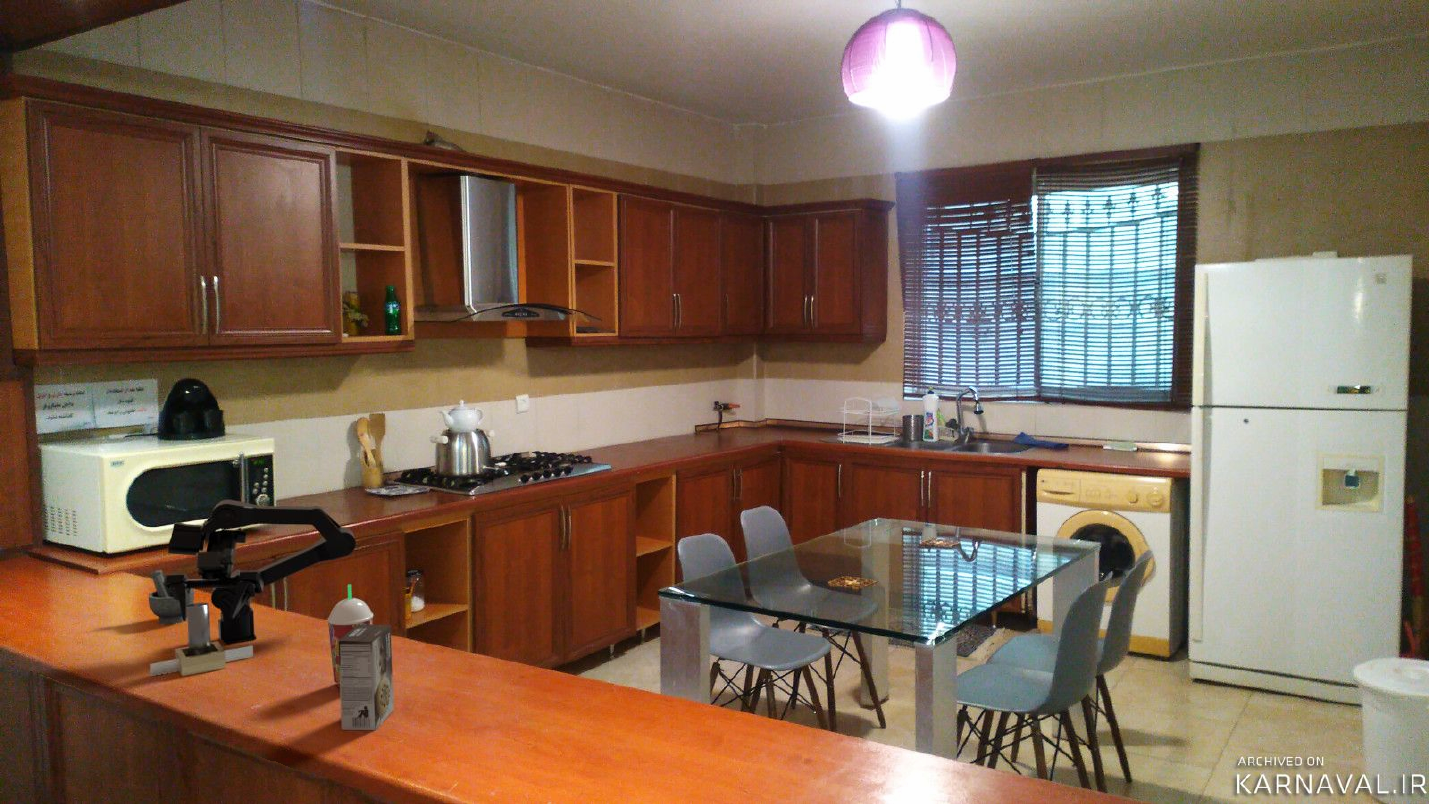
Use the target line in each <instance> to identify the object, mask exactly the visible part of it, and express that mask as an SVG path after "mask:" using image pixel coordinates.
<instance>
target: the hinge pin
mask: <svg viewBox="0 0 1429 804" xmlns="http://www.w3.org/2000/svg"><path fill="white" fill-rule="evenodd" d="M186 622H187V637H188V639H187V640H188V641H187V642H188V647H189V657H190V656H195V655H200V654H206V653H211V626H210V624H211V623H210V605H209V603H208V602H195V603H194V602H193V604H190V605H188V606H187V620H186Z"/></svg>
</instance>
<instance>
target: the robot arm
mask: <svg viewBox="0 0 1429 804" xmlns="http://www.w3.org/2000/svg"><path fill="white" fill-rule="evenodd" d="M253 525H254V526H255V525H303V526H306V525H308V526H312V527H314V528H315V530H316V531H318V533H319V534H320V535H321V536H322V537H321V538H320V539H318V540H317V541H316V542H315V543H313V544H312V545H310V546H309V547H308V546H307V547H306V548H304V549H301V550H298V551H297V552H295V553H292V554H289V555H287V556H285V557H283V558H281V559H279V560H276V561H275V562H272V563H269V564H268V565H267V564H266V565H265V566H262V567H261V568H258V569H255V570H254V569H253V570H241V568H238V569H236V570H235V571H233V569H234V564H235V557H236V556H235V554H236V549H237V544H245V543H247V536H248V533H247V532H246V531H244V530H243V529H242V528H244V527H249V526H253ZM206 541H208V542H207V544H206ZM205 545H206V551H204V549H205ZM356 546H357V542H356V539H355V535H354V533H353V531H352V530H351V529H349V528H347V527H344V526H341V525H340V524H339V523H338V522H337V521H336V520H335V519H334V518H332V517H331V516H330V515H329V514H328V513H327V512H326V511H325V509H324V508H323V507H321V506H318V505H313V506H286V505H284V506H280V505H256V504H253V503H248V502H245V501H240V500H233V499H224V500H221V501H219V502H218V503H217V504H216V505H215V506H214V507H213V510H212V513H211V515H210V517H208V518H207V519H205V520H204V521H203V523H202V524H189V523H183V522H178V521H177V522H174V524H173V528H172V532H171V536H170V538H169V542H168V549H167V553H168V554H171V555H185V556H186V555H187V556H196V566H195V567H196V568H195V569H198V571H197V573H198V575H199V576H200V578H192V579H191V578H189V576H188V575H187V573H168V574H167V575H166V576H165V577H164V583H163V585H164V587H165V589H166V592H167V594H168V596H169V597H172V598H174V599H175V600H179V602H180V607H181V613H182V618H183V621H184V622H187V620H186V619H187V606H188V605H189V603H190V596H189V594H190V590H191V589H193V590H194V589H210V588H211V589H212V592H211V595H210V601H211V604H212V605H213V607H215V608H216V609H217V610H220V614H219V615H220V618H219V619H218V620H217V625H218V627H217V628H218V629H217V630H218V638H219V639H220V640H221V641H222V643H223V644H224V645H230V644H237V643H240V642H245V641H246V642H247V641H253V640H256V639H257V636H256V634H255V619H254V610H253V608H251V605H252V604H251V603H252V599H253V598H254V597H256V595H257V594H262V593H263V592H264V588H266V587H268V586H269V585H271V584H274V583H275V582H278V581H281V580H282V579H286V578H287V577H289V576H291V575H293V574H296V573H298V572H300V571H302V570H304V569H307V568H309V567H311V566H313V565H316V564H318V563H322V562H329V561H333V560H338V559H340V558H341V559H342V558H345V557H348V556H350V555H351V554H352V553H354V550H355V549H356Z"/></svg>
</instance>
